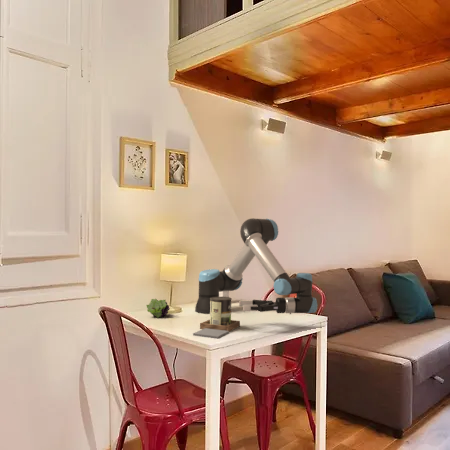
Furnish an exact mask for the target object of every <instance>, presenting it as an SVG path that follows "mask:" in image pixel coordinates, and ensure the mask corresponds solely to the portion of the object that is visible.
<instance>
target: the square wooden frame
mask: <svg viewBox="0 0 450 450" xmlns="http://www.w3.org/2000/svg"><path fill="white" fill-rule="evenodd" d="M240 325H241V321H240V320H233V319H231V324H230V325H228V326H223V325H214V324H210V319H208V320H205V321H202V322H200V323H199V329H200V330H202V329H204V328H208V329H216V330H225V331H229V332H231V331H233V330H235V329H237V328H239V327H240Z"/></svg>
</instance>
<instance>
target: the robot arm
mask: <svg viewBox="0 0 450 450" xmlns="http://www.w3.org/2000/svg"><path fill="white" fill-rule="evenodd" d="M239 230H240V237H241V240H242V242H243V243H244V244H243V245H242V246H241V248H240V249H239V251H238V253H237V254H236V255H235V256H234V258H233V259H232V261H231V262H230V264H227V265H226V266H225V267H223V269H222V270H221V271H220V270H219V269H217V268H213V269H211V268H210V269H204V270H201V271H200V272H199V274H198V298H197V301H196V304H195V307H194V309H195V310H194V312H196V313H198V314H199V313H200V314H209V315H210V298H211V297H219V292H222V291H229V292H233V291H237V290H238V289H240V288H241V286H242V284H243V280H244V279H243V273H244V272H245V270H246V269H247V267H249V265H250V264H251V261H253V259H254V258H255V257H256V259H257V260H258V261H259V263H260V264H261V266H262V267H263V268H264V270H265V272H266V273H267V274H268V276H269V278H271V281H272V282H273V291H274V293H275V294H277V295H278V296H287V297H276V299H275V302H274V301H273V300H264V299H251V300H250V299H249V300H246V299H245V300H239V304H238V306H239V307H243V308H242V310H243V312H260V313H263V312H271V311H273V312H274V311H276V313H277V314H289V315H292V314H312V313H313V314H315V313H316V312H317V310H318V302H317V298H316V297H313V283H314V282H313V275H312V274H311V273H310V272H298V273H296V276H295V277H290V276H289V274H288V273H287V272H286V270H285V268H284V267H283V266H282V264H281V263H280V262H279V260H278V259H277V257H276V256H275V254H274V253H273V252H272V251H271V249H270V248H269V246H268V245H267V244H268V243H269V242H272V241H275V240H277V238H278V235H279V226H278V224H277V223H276V221H275V220H273V219H269V218H248V219H246V220H245V221H243V223H242V224H241V226H240V229H239ZM288 295H296V297H293V296H292V297H288Z"/></svg>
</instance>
